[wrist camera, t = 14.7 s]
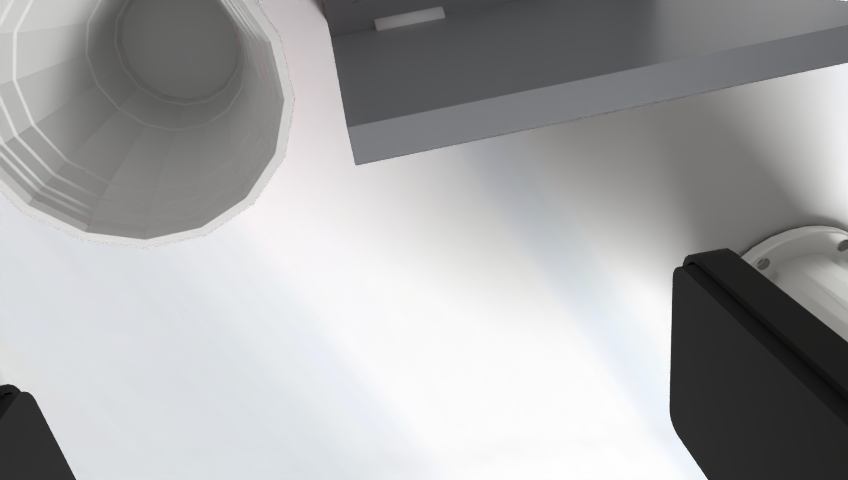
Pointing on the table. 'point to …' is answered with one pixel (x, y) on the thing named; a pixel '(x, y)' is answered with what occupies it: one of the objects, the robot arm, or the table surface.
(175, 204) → the plastic cup
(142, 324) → the table surface
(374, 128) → the equipment case
